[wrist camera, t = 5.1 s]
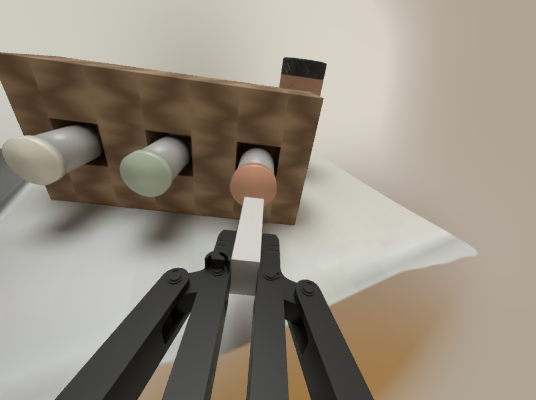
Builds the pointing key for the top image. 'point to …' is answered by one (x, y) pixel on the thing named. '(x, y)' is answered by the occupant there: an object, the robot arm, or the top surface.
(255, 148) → the terracotta button
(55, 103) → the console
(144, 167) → the sage button
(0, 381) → the top surface
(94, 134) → the cream button
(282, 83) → the travel mug
